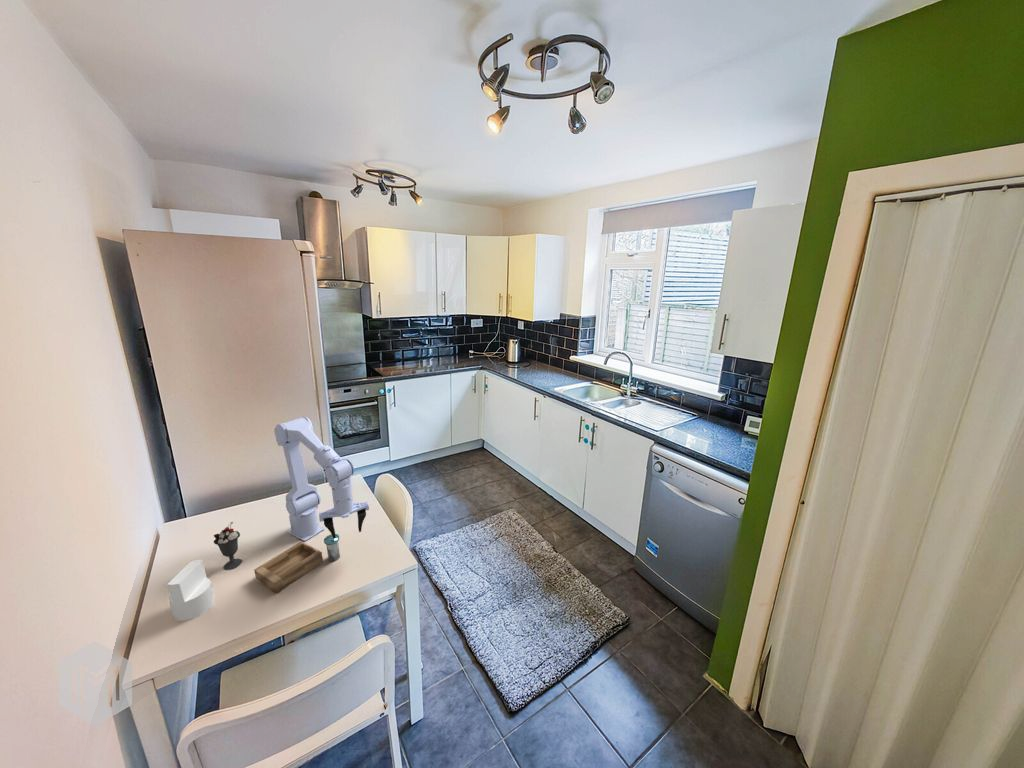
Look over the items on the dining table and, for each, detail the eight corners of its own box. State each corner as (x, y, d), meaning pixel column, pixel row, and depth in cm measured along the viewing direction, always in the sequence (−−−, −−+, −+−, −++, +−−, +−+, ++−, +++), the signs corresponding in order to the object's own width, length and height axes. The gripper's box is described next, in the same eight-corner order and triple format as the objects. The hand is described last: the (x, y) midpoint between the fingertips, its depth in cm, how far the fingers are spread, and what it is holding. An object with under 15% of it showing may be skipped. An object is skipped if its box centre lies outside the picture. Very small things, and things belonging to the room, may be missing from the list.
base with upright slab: (200, 620, 102) (190, 583, 99) (165, 622, 101) (154, 585, 98) (222, 593, 111) (214, 559, 107) (190, 595, 110) (180, 560, 107)
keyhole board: (256, 579, 116) (254, 569, 115) (302, 550, 128) (301, 541, 127) (277, 593, 110) (274, 583, 109) (323, 561, 123) (321, 552, 122)
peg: (323, 559, 124) (320, 540, 122) (335, 551, 128) (333, 532, 126) (332, 564, 122) (329, 544, 120) (344, 556, 126) (342, 536, 124)
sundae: (250, 559, 124) (242, 520, 120) (229, 574, 118) (220, 533, 114) (236, 554, 126) (227, 516, 122) (215, 568, 120) (205, 528, 116)
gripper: (317, 509, 112) (322, 547, 116) (368, 497, 118) (372, 534, 122) (317, 497, 118) (322, 534, 122) (366, 486, 124) (369, 522, 128)
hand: (347, 533), depth 122 cm, fingers open, 7 cm apart
